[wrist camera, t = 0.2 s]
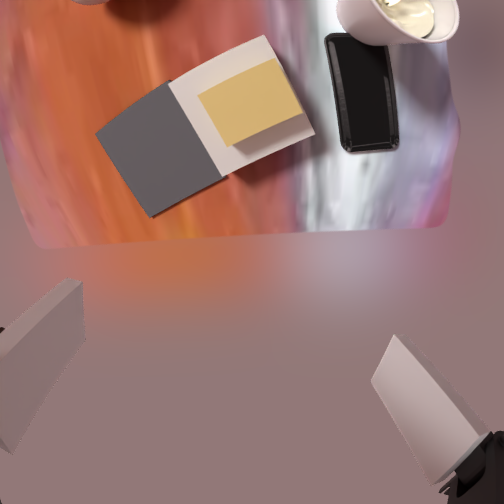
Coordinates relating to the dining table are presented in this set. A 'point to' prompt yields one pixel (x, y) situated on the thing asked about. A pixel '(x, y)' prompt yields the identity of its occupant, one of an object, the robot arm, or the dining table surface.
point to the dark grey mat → (158, 151)
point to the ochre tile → (250, 102)
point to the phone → (362, 93)
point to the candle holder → (399, 20)
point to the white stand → (203, 125)
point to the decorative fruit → (90, 2)
